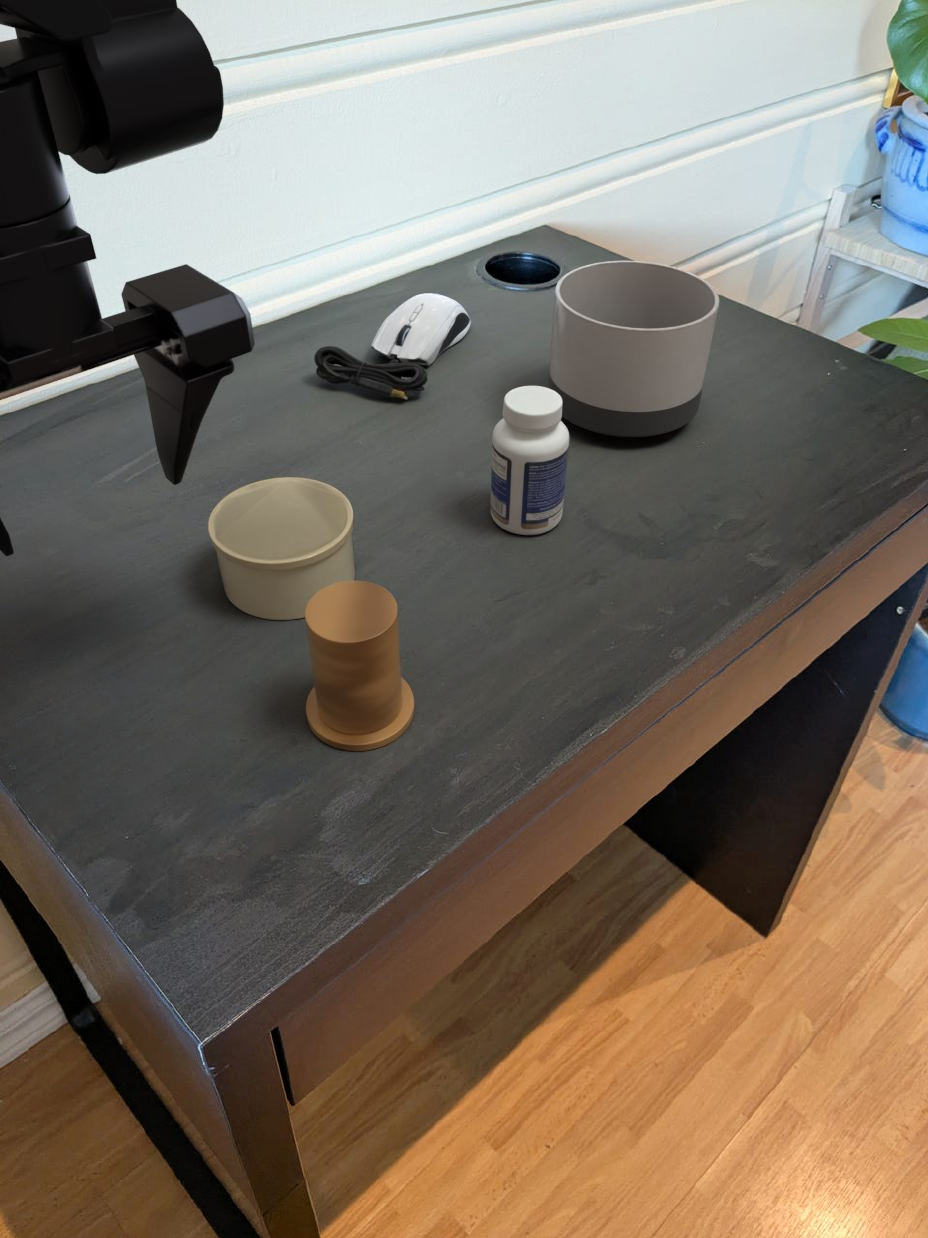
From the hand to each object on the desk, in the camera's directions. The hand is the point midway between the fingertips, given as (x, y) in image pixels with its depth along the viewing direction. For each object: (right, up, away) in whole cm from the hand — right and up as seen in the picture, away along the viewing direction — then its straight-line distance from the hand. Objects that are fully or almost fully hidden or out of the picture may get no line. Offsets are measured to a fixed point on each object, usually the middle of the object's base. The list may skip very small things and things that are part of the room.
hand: (93, 514), depth 50 cm
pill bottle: (+24, +2, +22) cm, 33 cm away
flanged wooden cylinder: (+13, -11, +8) cm, 19 cm away
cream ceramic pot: (+7, -2, +17) cm, 18 cm away
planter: (+33, +12, +33) cm, 48 cm away
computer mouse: (+14, +19, +41) cm, 47 cm away
